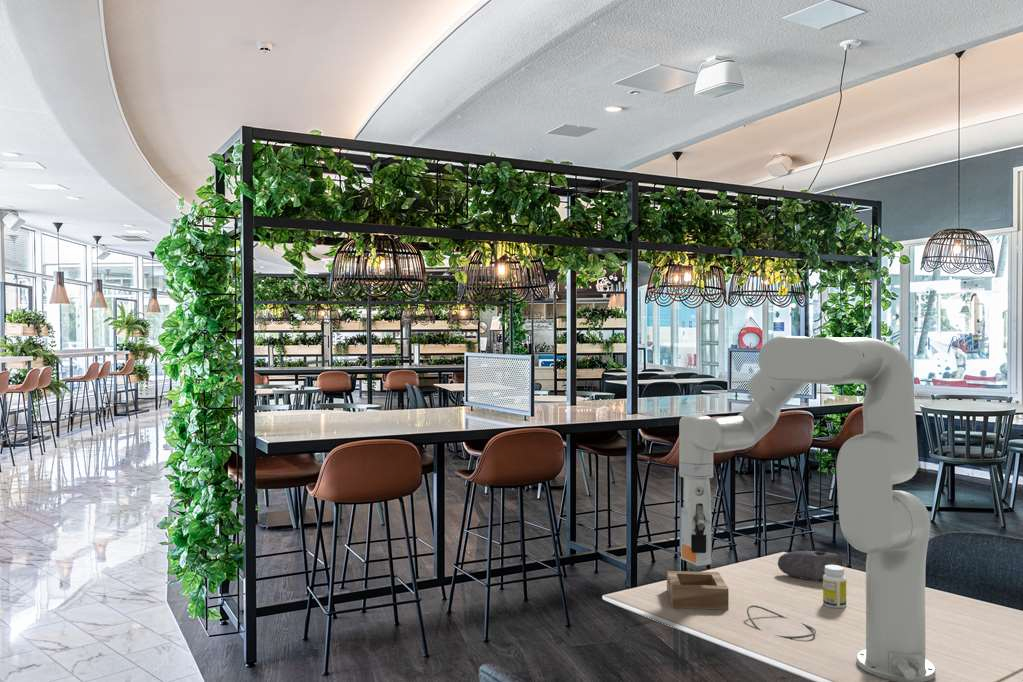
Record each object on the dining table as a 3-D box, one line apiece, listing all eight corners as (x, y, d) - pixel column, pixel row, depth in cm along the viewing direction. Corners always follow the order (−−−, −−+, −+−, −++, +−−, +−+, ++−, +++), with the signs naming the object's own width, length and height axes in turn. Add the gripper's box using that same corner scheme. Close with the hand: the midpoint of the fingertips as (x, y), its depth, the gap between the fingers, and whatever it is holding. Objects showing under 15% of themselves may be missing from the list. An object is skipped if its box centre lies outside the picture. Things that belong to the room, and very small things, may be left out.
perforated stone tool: (775, 577, 189) (775, 549, 189) (779, 571, 194) (779, 544, 194) (841, 586, 182) (841, 557, 182) (843, 580, 186) (843, 552, 186)
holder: (728, 609, 166) (728, 588, 166) (672, 607, 167) (672, 587, 167) (718, 591, 178) (718, 572, 178) (666, 590, 179) (666, 570, 179)
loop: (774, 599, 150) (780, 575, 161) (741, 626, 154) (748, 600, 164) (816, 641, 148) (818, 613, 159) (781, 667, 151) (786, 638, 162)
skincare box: (680, 559, 175) (680, 507, 175) (695, 557, 176) (695, 505, 176) (697, 566, 169) (697, 512, 169) (712, 564, 171) (712, 511, 171)
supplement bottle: (842, 601, 171) (842, 564, 171) (849, 609, 166) (849, 570, 166) (820, 601, 171) (820, 563, 171) (826, 608, 167) (826, 570, 167)
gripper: (719, 476, 164) (719, 559, 164) (706, 463, 181) (706, 538, 181) (684, 476, 164) (684, 558, 164) (674, 463, 182) (674, 537, 182)
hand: (696, 547), depth 173 cm, fingers closed on skincare box, 7 cm apart
